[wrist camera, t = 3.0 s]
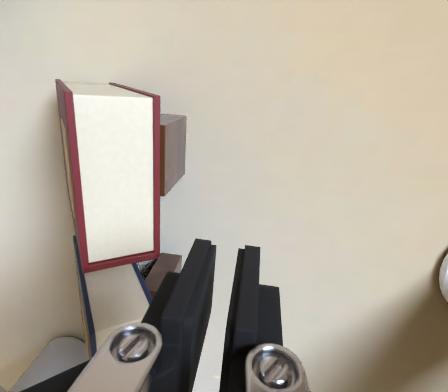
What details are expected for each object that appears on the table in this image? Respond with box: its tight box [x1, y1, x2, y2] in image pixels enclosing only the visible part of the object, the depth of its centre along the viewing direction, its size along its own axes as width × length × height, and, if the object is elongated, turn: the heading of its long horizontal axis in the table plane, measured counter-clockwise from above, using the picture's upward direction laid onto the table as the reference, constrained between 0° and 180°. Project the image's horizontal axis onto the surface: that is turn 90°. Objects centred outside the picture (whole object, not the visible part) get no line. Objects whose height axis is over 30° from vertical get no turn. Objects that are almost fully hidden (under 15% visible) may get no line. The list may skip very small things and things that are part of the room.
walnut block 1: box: [160, 114, 186, 196], centre depth 28 cm, size 2×6×7 cm, turn 176°
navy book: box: [73, 236, 153, 360], centre depth 30 cm, size 15×11×5 cm
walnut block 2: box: [145, 253, 182, 299], centre depth 34 cm, size 2×6×7 cm, turn 175°
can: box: [9, 337, 88, 392], centre depth 38 cm, size 8×8×12 cm
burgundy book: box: [55, 79, 160, 274], centre depth 25 cm, size 15×11×5 cm
